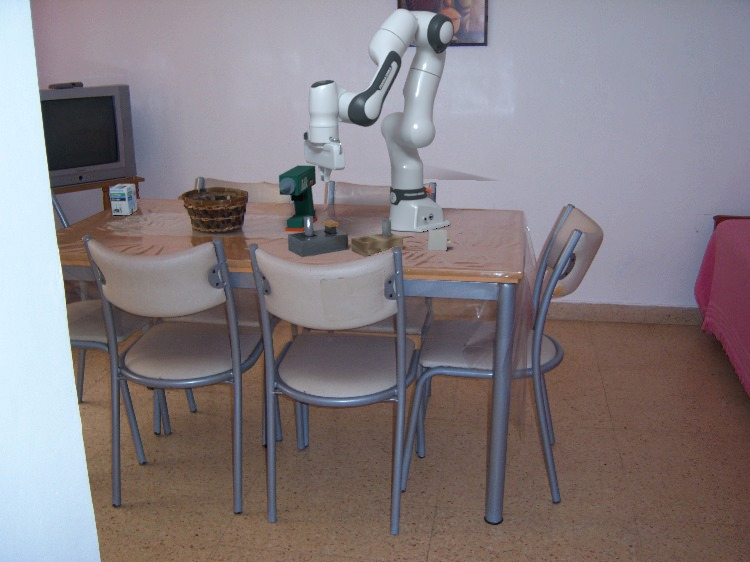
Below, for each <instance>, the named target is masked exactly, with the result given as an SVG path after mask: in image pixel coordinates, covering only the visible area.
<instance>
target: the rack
mask: <svg viewBox="0 0 750 562" xmlns="http://www.w3.org/2000/svg"><path fill="white" fill-rule="evenodd" d="M381 225H382V227H381V233H378V234H377V233H376V234H371V235H363V236H359V237H351V238H350V240H351V244H350V247H351V252H353V253H355V254H357V255H359V256H362V257H369V256H368V255H371V254H375V253H379V252H382V251H386V250H389V249H390V248H392V247H395V246H399V247H401V248H403V249H404V237H403V236H400V235H397V234H395V233H392V229H391V220H389V219H383V220H381ZM371 256H372V255H371Z"/></svg>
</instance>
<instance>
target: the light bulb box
mask: <svg viewBox="0 0 750 562" xmlns="http://www.w3.org/2000/svg"><path fill="white" fill-rule="evenodd" d="M136 191H137V190H136V183H118V184H116V185H114V186H111V188H109V193H110V194H109V195H110V196H109V197H110V202H111V203H110V204H111V211H112V216H113V215H130V214H132V213H133V212H134V211H136V210H137V209H138V201H137V199H138V198H137V192H136ZM133 214H134V213H133ZM133 214H132V215H133ZM130 216H131V215H130Z"/></svg>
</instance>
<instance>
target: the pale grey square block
mask: <svg viewBox="0 0 750 562" xmlns="http://www.w3.org/2000/svg"><path fill="white" fill-rule="evenodd" d="M451 242H452V240H451V239H450V238H448V230H447V229H441V228H437V229H432V230H428V239H427V250H428V249H429V250H448V249H447V247H448V243H449V244H451Z"/></svg>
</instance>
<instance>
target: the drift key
mask: <svg viewBox="0 0 750 562" xmlns="http://www.w3.org/2000/svg"><path fill="white" fill-rule="evenodd" d="M321 225H322V226H324V229H325V233H328V234H330V235H331V234H336V229H337V227H339V226H340V223H339V222H337V221H335V220H332V219H326V220H322V221H321Z"/></svg>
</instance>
